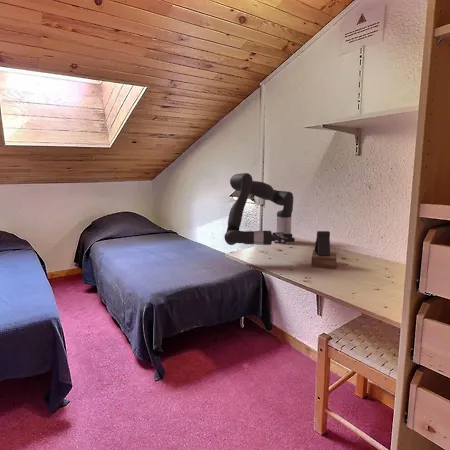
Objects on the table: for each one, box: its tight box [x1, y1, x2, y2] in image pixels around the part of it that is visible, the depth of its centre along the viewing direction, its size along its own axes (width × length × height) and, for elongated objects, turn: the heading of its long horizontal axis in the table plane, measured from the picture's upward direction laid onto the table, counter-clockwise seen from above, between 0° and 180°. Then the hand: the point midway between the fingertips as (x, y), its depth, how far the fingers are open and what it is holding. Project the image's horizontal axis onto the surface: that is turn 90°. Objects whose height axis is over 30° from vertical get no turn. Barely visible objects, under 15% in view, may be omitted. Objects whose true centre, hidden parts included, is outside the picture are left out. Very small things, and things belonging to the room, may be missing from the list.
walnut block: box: [310, 249, 337, 270], centre depth 187 cm, size 12×12×6 cm
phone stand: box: [313, 230, 331, 256], centre depth 186 cm, size 9×6×12 cm, turn 0°
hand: (293, 237), depth 187 cm, fingers open, 8 cm apart
